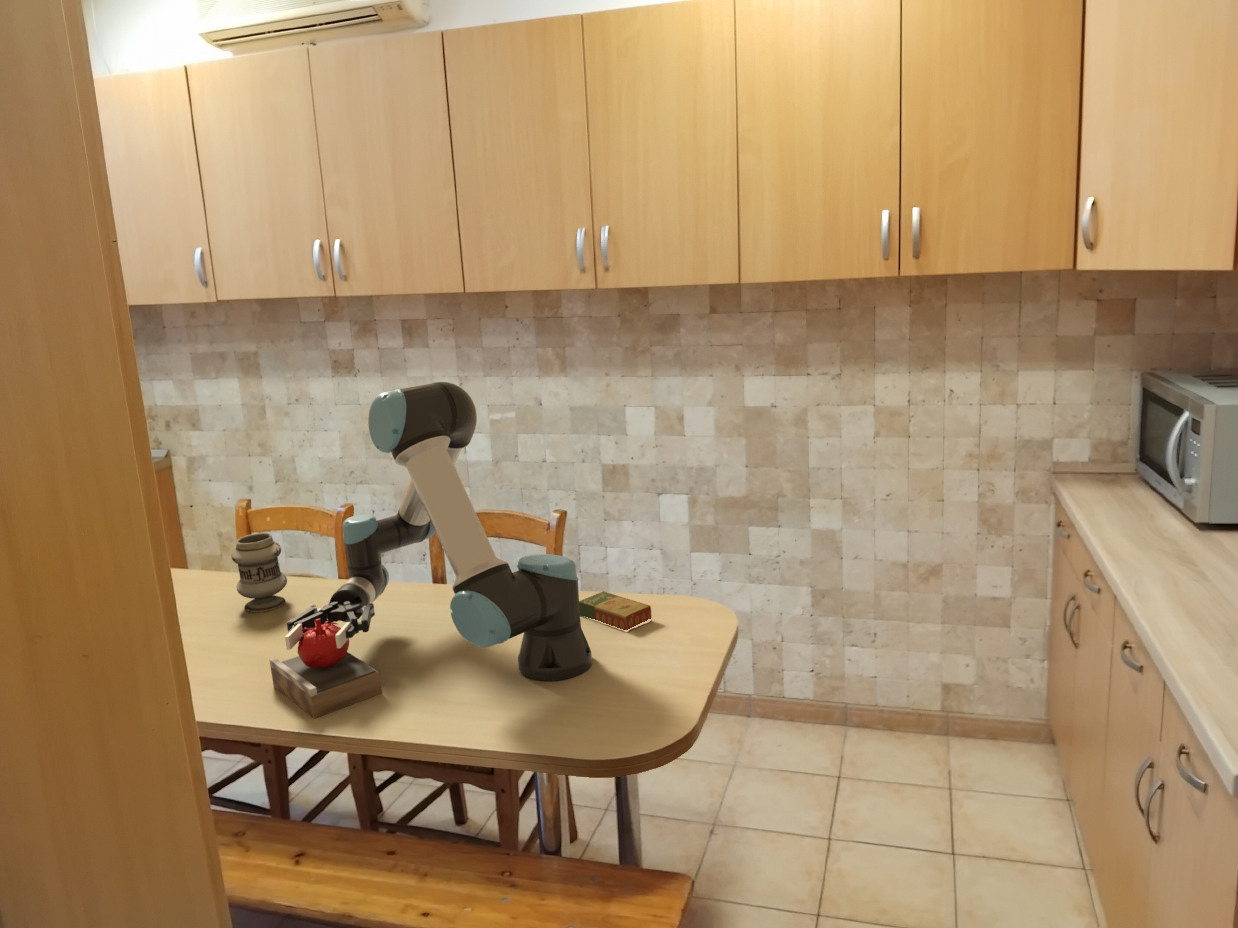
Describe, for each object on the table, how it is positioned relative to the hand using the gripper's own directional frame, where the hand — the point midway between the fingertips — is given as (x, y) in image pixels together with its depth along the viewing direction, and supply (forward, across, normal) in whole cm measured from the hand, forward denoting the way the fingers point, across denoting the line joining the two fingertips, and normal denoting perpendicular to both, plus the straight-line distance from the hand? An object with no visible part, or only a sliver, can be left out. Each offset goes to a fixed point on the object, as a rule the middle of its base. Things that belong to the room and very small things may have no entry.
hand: (312, 642), depth 183 cm
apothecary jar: (-53, +35, -12) cm, 65 cm away
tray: (-4, 0, -12) cm, 13 cm away
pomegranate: (-4, 0, -6) cm, 8 cm away
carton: (-37, -56, -12) cm, 68 cm away
